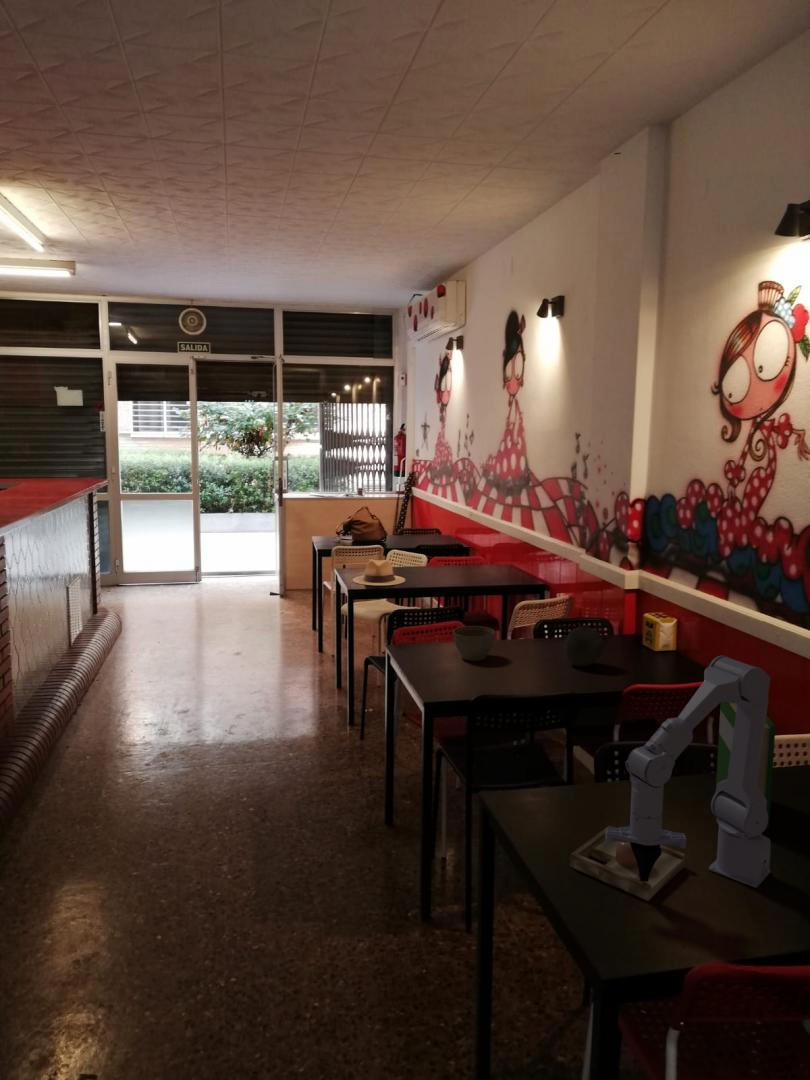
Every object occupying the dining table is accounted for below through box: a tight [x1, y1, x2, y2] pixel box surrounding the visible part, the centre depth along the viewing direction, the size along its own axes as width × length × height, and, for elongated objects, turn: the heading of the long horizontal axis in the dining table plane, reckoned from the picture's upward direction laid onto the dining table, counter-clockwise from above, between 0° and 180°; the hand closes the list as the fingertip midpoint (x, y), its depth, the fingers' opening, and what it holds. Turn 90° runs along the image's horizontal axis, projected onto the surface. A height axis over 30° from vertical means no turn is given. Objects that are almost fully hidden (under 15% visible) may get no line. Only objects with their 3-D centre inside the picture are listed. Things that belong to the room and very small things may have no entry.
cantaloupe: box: [563, 626, 605, 668], centre depth 293 cm, size 14×14×15 cm
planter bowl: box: [452, 625, 496, 662], centre depth 304 cm, size 16×16×11 cm
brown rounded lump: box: [616, 842, 638, 868], centre depth 157 cm, size 5×5×4 cm
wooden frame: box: [569, 825, 686, 902], centre depth 158 cm, size 17×16×3 cm
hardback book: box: [715, 702, 776, 830], centre depth 181 cm, size 18×7×24 cm, turn 171°
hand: (643, 878), depth 148 cm, fingers closed
